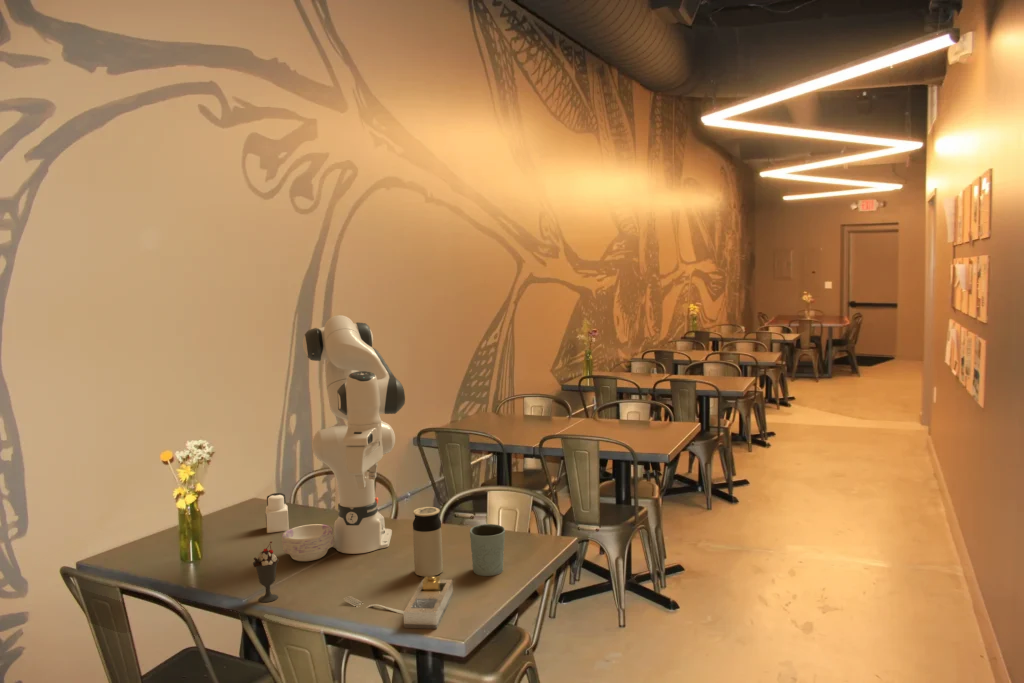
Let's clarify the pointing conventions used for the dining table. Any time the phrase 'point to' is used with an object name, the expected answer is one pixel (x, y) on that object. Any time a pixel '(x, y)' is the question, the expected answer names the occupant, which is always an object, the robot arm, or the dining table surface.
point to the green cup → (487, 549)
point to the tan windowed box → (428, 606)
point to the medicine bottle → (276, 513)
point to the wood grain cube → (432, 583)
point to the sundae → (266, 572)
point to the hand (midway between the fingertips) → (367, 483)
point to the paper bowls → (308, 541)
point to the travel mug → (427, 542)
